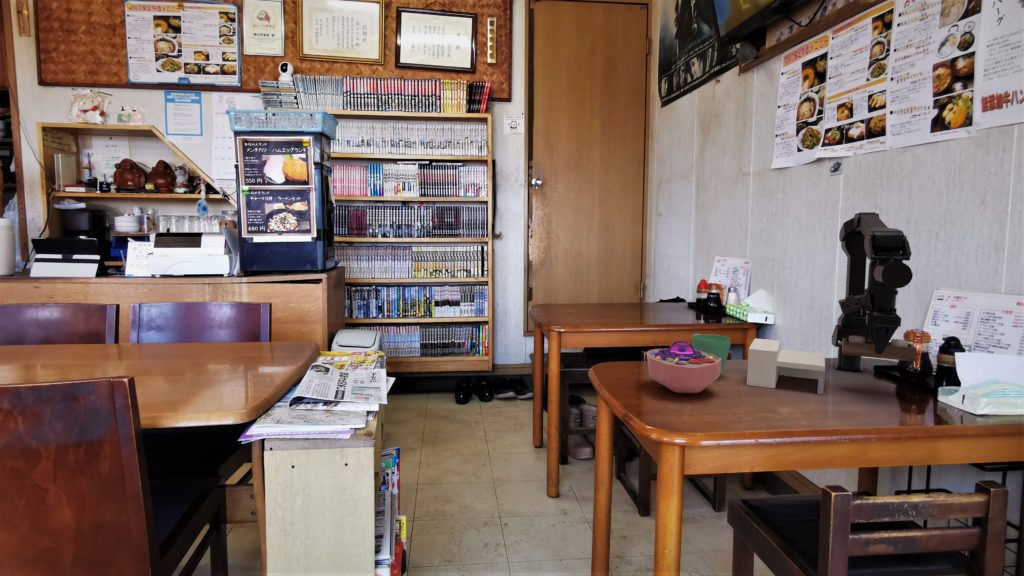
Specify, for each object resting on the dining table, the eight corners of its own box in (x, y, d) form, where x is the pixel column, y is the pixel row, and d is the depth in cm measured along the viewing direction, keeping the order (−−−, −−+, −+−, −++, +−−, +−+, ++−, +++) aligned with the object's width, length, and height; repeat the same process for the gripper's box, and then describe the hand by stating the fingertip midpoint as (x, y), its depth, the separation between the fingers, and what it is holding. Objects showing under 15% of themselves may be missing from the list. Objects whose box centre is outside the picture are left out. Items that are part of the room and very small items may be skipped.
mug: (736, 379, 143) (738, 341, 142) (700, 380, 142) (702, 341, 141) (709, 366, 157) (710, 331, 156) (675, 367, 156) (677, 331, 155)
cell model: (641, 398, 126) (643, 348, 125) (647, 377, 145) (649, 333, 144) (722, 406, 121) (724, 354, 120) (717, 383, 140) (719, 338, 139)
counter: (753, 371, 152) (754, 338, 151) (822, 379, 145) (824, 344, 144) (746, 384, 138) (748, 348, 137) (823, 394, 130) (825, 356, 130)
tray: (841, 350, 138) (842, 333, 137) (911, 356, 131) (912, 339, 131) (842, 354, 132) (843, 337, 132) (915, 361, 126) (916, 343, 125)
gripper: (840, 280, 142) (836, 341, 144) (843, 286, 126) (839, 354, 127) (893, 282, 137) (888, 345, 138) (903, 288, 121) (898, 360, 122)
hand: (877, 351), depth 132 cm, fingers closed on tray, 6 cm apart
